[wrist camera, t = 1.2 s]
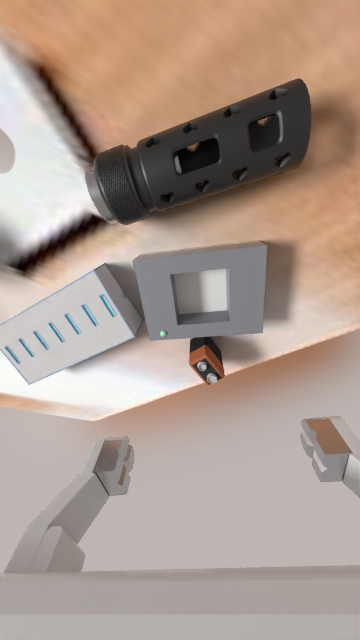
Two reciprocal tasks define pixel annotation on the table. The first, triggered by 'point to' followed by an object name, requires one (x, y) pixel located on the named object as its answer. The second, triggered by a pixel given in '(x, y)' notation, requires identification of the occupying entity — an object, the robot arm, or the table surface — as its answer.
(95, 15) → the table surface
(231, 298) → the dock
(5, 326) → the white slatted block
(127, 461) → the robot arm
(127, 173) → the muzzle brake
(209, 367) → the battery
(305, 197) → the table surface
